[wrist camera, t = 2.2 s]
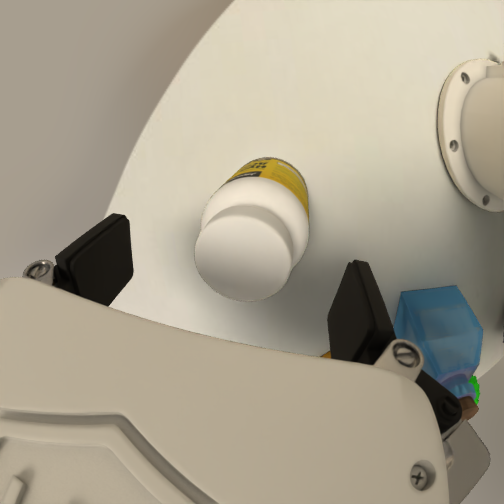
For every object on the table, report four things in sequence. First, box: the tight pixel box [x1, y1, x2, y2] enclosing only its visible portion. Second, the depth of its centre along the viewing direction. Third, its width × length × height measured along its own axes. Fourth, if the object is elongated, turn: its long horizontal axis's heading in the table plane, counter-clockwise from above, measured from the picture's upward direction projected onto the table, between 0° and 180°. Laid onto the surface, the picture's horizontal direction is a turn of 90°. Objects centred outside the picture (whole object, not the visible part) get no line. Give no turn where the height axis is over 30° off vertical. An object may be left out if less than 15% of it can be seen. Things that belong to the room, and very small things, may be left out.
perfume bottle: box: [393, 286, 483, 421], centre depth 17 cm, size 6×6×12 cm
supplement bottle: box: [194, 157, 309, 302], centre depth 15 cm, size 5×5×10 cm
